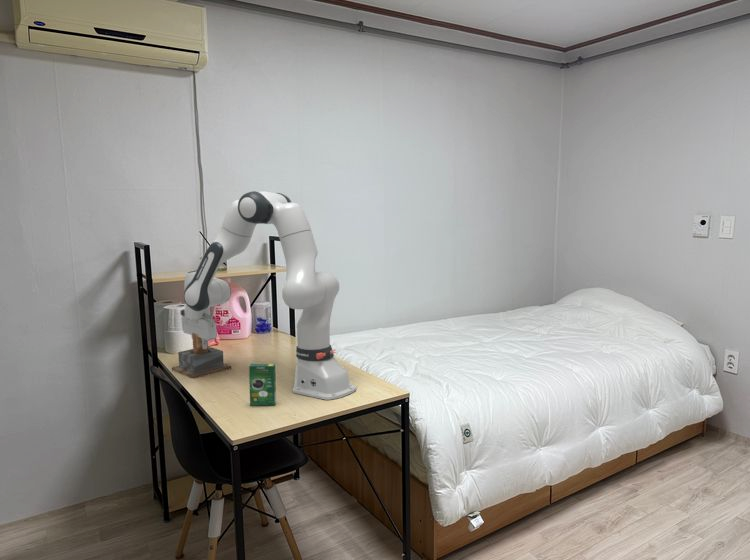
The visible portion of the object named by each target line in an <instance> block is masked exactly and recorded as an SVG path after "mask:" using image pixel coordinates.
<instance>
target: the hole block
mask: <svg viewBox="0 0 750 560" xmlns="http://www.w3.org/2000/svg"><path fill="white" fill-rule="evenodd" d="M177 354H178V365H176V366H171V370H172V371H174V372H176V373H178V374H180V375H184V376H185V375H186V376H185V377H187V376H188V378H190V379H192V378H193V379H197V378H200V377H204V376H208V374H209V375H212V374H215V373H220V372H224V371H227V370H230V369H229V368H231V369H232V365H229V364H227V363H224V362H225V361H224V351H223V350H221V349H217V348H214V347H211V346H209V345H208V352H207V353H202V354H198V355H197V354H194V353H193V348H191V349H186V350H183V351H178V353H177ZM226 369H227V370H226ZM223 370H224V371H223Z"/></svg>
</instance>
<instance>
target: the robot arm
mask: <svg viewBox="0 0 750 560" xmlns="http://www.w3.org/2000/svg"><path fill="white" fill-rule="evenodd" d="M257 224H263V225H271V224H272V225H274V227H275V229H276V230H277V235H278V237H279V242H280V245H281V248H282V253H283V255H284V259H285V269H286V271H285V272H286V276H285V283H284V286H283V287H282V290H281V291H282V292H281V295H282V301H284V304H285V305H286V306H287V307H288V308H290V309H293V310H302V312H301V315H300V317H299V319H298V320H297V323H296V336H297V337H296V341H297V344H296V347H295V349H296V350H295V353H296V358H297V361H296V366H295V369H294V370H295V374H294V385H293V388H292V393H294V394H299V395H302V396H306V397H311V398H316V399H322V400H325V401H326V400H327V401H328V400H329V401H330V400H336V399H340V398H344V397H345V396H348V395H350V394H352V393H355V392H356V391H357V386H356V385H354V384H352V383H350V378H349V374H348V371H347V370H346V368H345V367H343V366H342V365H341V363H339V361H338V360H337V359H336V357H335V355H334V354H336V349H333V348H332V345H331V344H330V343H331V341H330V340H331V339H330V337H331V336H330V335H331V333H330V327H331V326H330V325H331V317H332V312H333V307H334V304H335V300H336V297H337V295H338V294H339V291H340V283H339V279H338V278H337V276H335V275H334V274H333V273H330V272H326V271H318V272H316V259H317V257H318V254H319V253H318V252H319V251H318V248H317V245H316V241H315V238H314V234H313V232H312V229H311V226H310V222H309V220H308V217H307V215H306V214H305V211H304V209H303V208H302V206H301V205H300V204H298V203H296V202H292V200H291V199H290V198H289V196H287V195H285V194H283V193H281V192H272V191H271V192H270V191H267V190H265V191H264V190H262V191H249V192H246V193H244V194H243V195H242V196H240V198H239V199H236V200H234V201H233V202H232V203H231V204H230V205H229V208H228V210H227V212H226V213H225V215H224V218H223V221H222V223H221V226H220V229H219V231H218V232H217V235H216V236H215V238H214V239H213V241H212V242H211V244H210V245H209V246H208V248H207V249H206V251H205V253H204V255H203V257H202V259H201V260H200V263H199V266H198V267H197V269H196V270H192V271H188V272H187V273H186V274H185V275H184V284H183V287H184V288H183V291H184V292H183V300H184V302H185V308H182V309H181V310H179V312H180V313H179V315H180V316H181V320H180V321H181V329H182V331H183V333H184V334H187V335H189V336H191V339H192V341H193V338H192V333H195V334H198V337H199V338H202V344H201V349H207V343H208V344H209V341H212V340H213V341H214V340H216V339H217V338H218V331H217V330H218V329H217V324H216V323H217V322H216V321H215V319H214V318H213V316H212V314H211V308H212V307H217V306H219V305H223V304H225V303H227V302H228V301H229V300H230V299H231V296H232V289H231V286H230V284H229V283H228V281H226V280H225V279H222V278H221V279H220V278H218V277H215V275H216V273H217V271H218V270H219V267H221V266H222V265H223V264H224V263H225V262H226V261H227V260H230V259H232V258H234V257H236V256H237V255H239V254H242V253H243V252H245V250H246V249H247V248H248V246H249V244H250V242H251V239H252V237H253V234H254V230H255V228H256V226H257Z"/></svg>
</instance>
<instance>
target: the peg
mask: <svg viewBox="0 0 750 560" xmlns="http://www.w3.org/2000/svg"><path fill="white" fill-rule="evenodd" d="M192 338H193V340H192V349H193V353H194V354H197V355H198V354H202V353H207V352H208V346H209V342H208V343H207V349H201V344H202V338H199V337H198V334H195V333H192V336H191V339H192Z"/></svg>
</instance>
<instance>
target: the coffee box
mask: <svg viewBox="0 0 750 560" xmlns="http://www.w3.org/2000/svg"><path fill="white" fill-rule="evenodd" d="M248 368H249V369H248V370H249V371H248V373H249V374H248V375H249V376H248V377H249V378H248V381H249V405H250V406H251V407H252V406H254V407H259V406H276V403H277V389H276V388H277V386H276V385H277V384H276V383H277V382H276V381H277V380H276V379H277V378H276V374H277V373H276V363H250V364H249V367H248Z"/></svg>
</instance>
